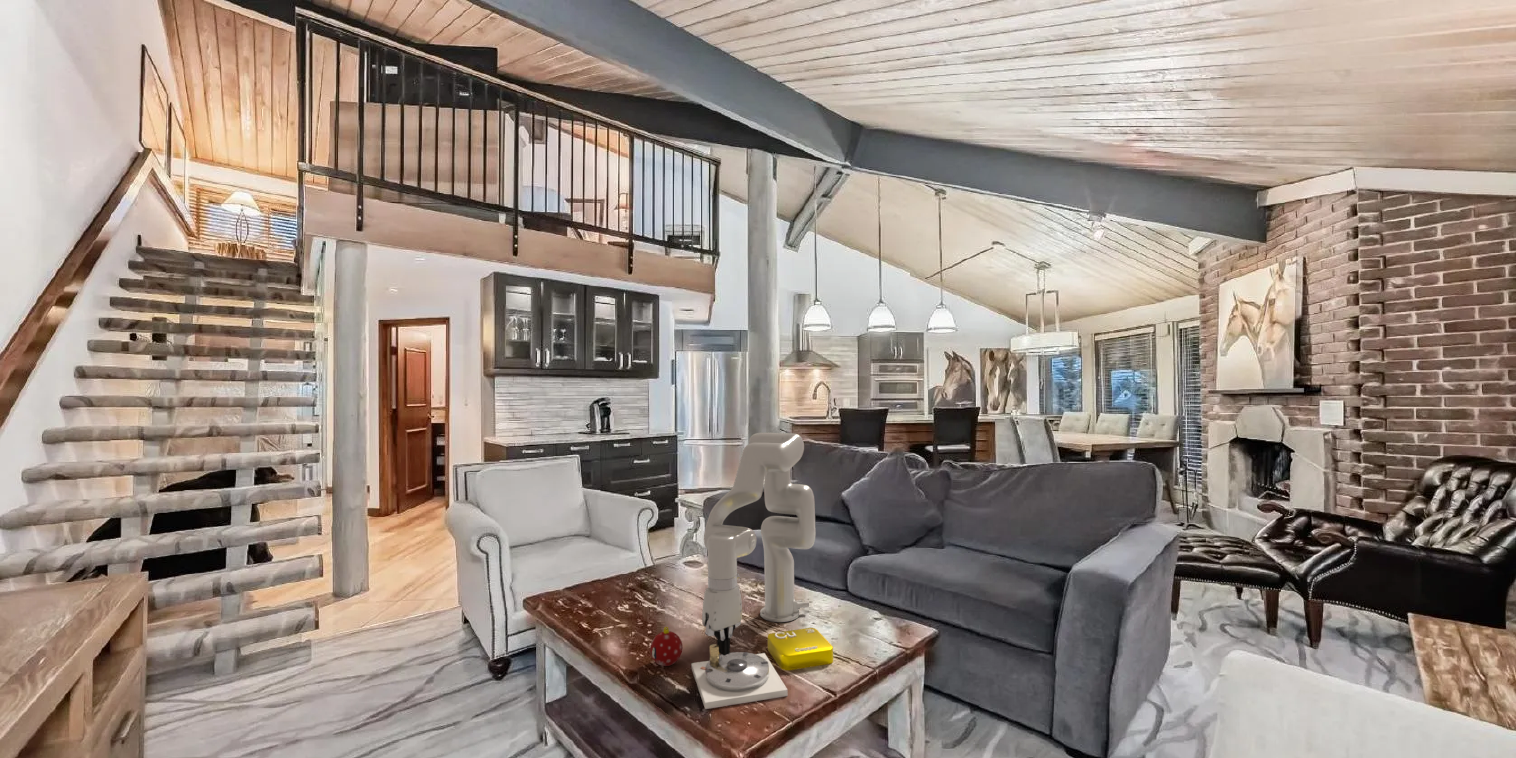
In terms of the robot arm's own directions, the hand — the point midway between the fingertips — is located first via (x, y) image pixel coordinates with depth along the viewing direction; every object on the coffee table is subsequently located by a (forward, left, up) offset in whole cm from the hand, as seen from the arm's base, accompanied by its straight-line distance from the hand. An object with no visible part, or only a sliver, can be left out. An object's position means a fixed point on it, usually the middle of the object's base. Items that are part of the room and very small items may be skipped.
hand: (723, 652), depth 154 cm
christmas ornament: (+14, -9, -6) cm, 18 cm away
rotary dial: (-2, +5, -4) cm, 7 cm away
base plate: (-2, +5, -5) cm, 8 cm away
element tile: (-22, -4, -6) cm, 23 cm away
